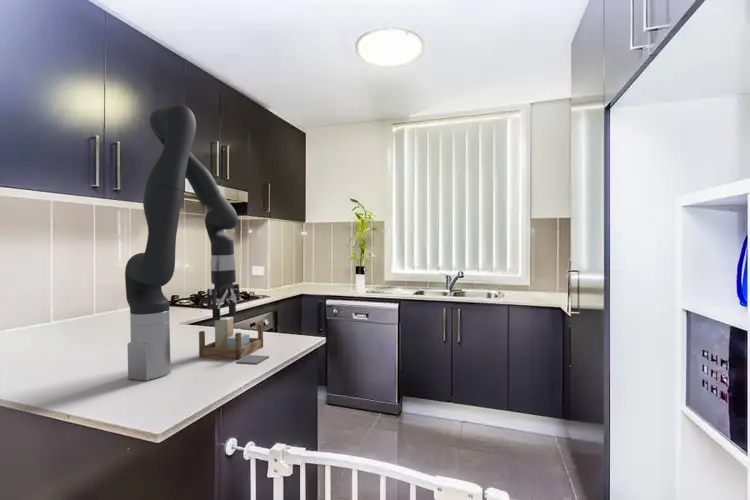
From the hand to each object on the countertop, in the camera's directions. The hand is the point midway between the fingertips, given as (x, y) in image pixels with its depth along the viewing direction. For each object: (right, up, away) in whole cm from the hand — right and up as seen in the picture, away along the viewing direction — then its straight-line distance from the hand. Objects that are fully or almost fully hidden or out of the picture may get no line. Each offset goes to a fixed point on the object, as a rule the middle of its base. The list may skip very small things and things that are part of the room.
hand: (224, 317), depth 125 cm
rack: (+3, -11, -1) cm, 12 cm away
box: (0, -11, 0) cm, 11 cm away
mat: (+13, -11, -10) cm, 20 cm away
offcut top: (+6, -8, -3) cm, 10 cm away
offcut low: (+6, -11, -2) cm, 13 cm away
